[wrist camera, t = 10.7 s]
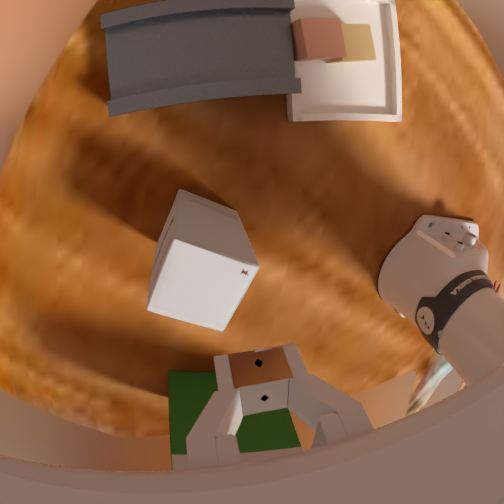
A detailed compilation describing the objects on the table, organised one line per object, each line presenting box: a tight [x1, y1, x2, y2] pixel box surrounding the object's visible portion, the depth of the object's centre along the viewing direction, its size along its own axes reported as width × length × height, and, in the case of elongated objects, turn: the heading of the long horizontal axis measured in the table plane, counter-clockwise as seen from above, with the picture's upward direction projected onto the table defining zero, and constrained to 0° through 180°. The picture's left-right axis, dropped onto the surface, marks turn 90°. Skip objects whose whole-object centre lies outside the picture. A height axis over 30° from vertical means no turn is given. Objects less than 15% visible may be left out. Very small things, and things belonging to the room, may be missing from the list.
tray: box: [286, 0, 402, 122], centre depth 28 cm, size 14×16×2 cm
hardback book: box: [169, 371, 302, 471], centre depth 39 cm, size 18×7×24 cm, turn 79°
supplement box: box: [146, 189, 260, 332], centre depth 30 cm, size 7×7×13 cm
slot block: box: [100, 0, 302, 117], centre depth 24 cm, size 17×10×6 cm, turn 94°
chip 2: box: [291, 18, 347, 62], centre depth 24 cm, size 4×4×4 cm
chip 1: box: [325, 24, 376, 63], centre depth 26 cm, size 4×4×4 cm
